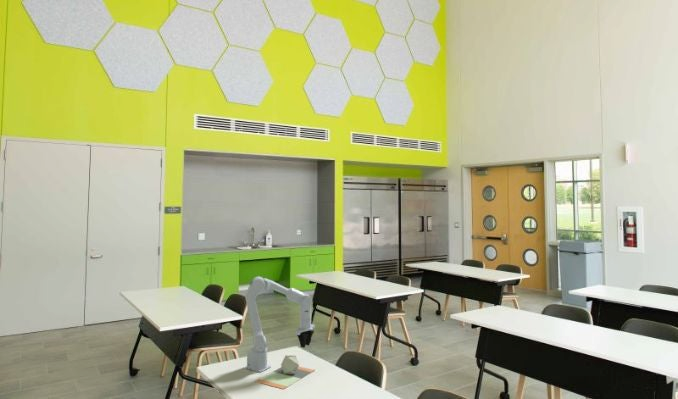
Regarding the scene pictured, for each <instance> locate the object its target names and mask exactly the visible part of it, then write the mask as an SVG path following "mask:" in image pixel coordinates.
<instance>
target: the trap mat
mask: <svg viewBox="0 0 678 399" xmlns="http://www.w3.org/2000/svg"><path fill="white" fill-rule="evenodd" d="M314 370H315V369H311V368H307V367H303V366H299V367H298V369H297V371H296V374H284V371H283V369H282V366H281V367H279V368H277V369H276V370H273V371H271V372H269V373H268V374H266V375H264V376H261V377H260V378H258V379H256V380H254V383H258V384H262V385H265V386H270V387H274V388H277V389H279V390H280V389H281V390H285V389H287V388H288V387H290V386H291V385H293V384H295V383H296V382H298V381H300V380H301V379H303V378H305V377H306V376H308V375H309V374H312V373H313V372H315V371H314Z"/></svg>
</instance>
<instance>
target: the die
mask: <svg viewBox="0 0 678 399" xmlns="http://www.w3.org/2000/svg"><path fill="white" fill-rule="evenodd" d="M280 366H281V367H282V369H283V371H284V374H296V371H297V369H298V367H300V363H299V359H298V357H297V355H284V357H283V360H282V361H281V364H280Z"/></svg>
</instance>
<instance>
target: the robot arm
mask: <svg viewBox="0 0 678 399" xmlns="http://www.w3.org/2000/svg"><path fill="white" fill-rule="evenodd" d="M264 290H265V291H269V290H272V291H275V292H277V293H280V294H282V295H285V297H286V299H287V300H290V301H292V302H295V303H296V304H299V305H300V309H299V326H298V327H299V328H297V329H296V330H295V336H297V338H298V341H299V345H300V348H306V346H310V344H311V340H312V336H313V335H314V333H315V330H314V329H316V326H315V325H316V324H314V323H312V305H313V304H314V301H313V299H312V296H310V295H309V294H308V293H307V292H304V291H300V290H298V289H297V288H296V287H290V288H288V287H285V286H283V285H282V284H280V283H277V282H276V281H275V280H271V279H268V278H266V277H264V278H263V277H262V276H260V275H258V276H255V277H253V279H252V280H251V281H250V282H249V286H248V288H247V290H246V292H245V295H244V297H245V302H246V306H247V307H246V308H247V311H248V316H249V321H250V324H251V330H252V333H253V334H252V336H253V340H252V341H253V347H251V348H249V350H247V353H246V367H245V369H246V370H250V371H255V372H258V373H262V372H263V371H265V370H267V369H270V368H271V367H272V366H271V365H268V342H267V337H266V335H265V334H264V332H263V328H262V323H261V319H260V315H259V310H258V305H257V301H256V298H257V297H258V296H259V294H260V293H262V292H263V291H264Z"/></svg>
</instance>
